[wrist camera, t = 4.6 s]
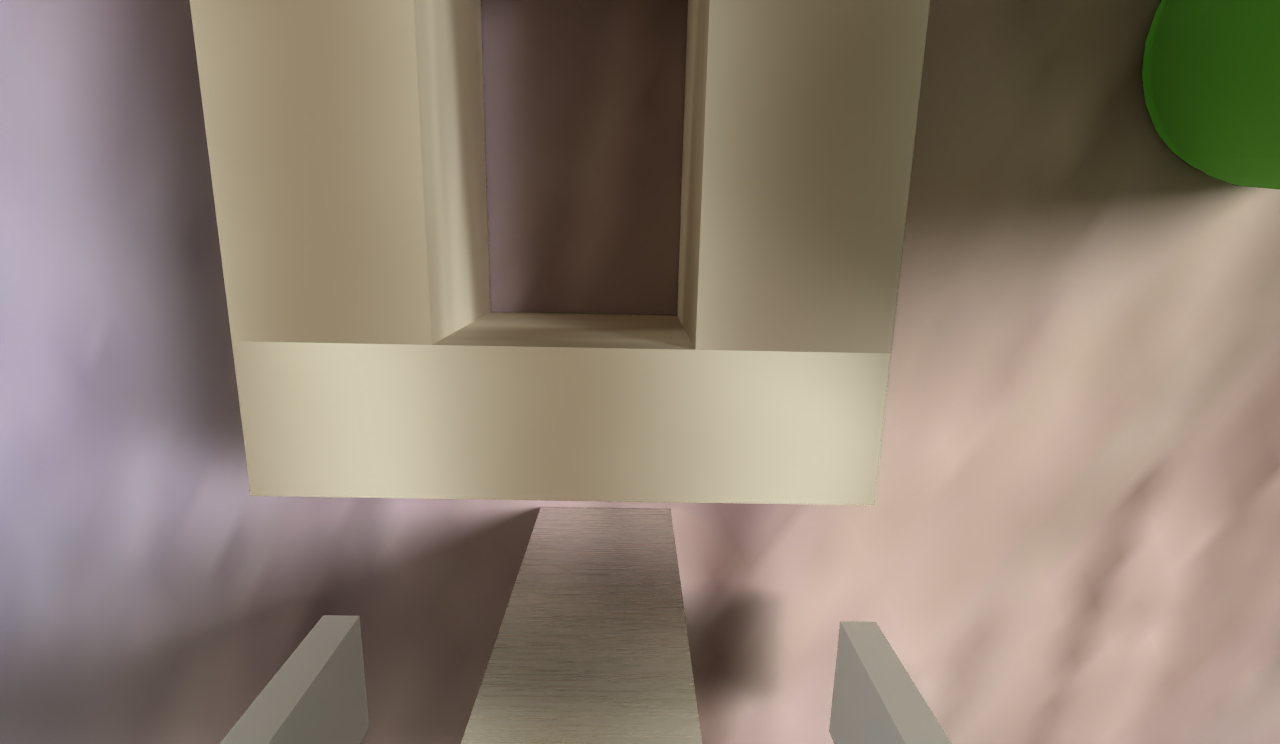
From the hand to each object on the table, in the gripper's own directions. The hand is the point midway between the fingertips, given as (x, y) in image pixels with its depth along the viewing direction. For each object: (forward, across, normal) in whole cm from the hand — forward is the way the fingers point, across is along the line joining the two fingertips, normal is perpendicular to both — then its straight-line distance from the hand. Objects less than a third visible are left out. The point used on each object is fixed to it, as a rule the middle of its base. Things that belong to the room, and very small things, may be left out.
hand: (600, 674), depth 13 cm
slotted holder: (+2, 0, +11) cm, 11 cm away
